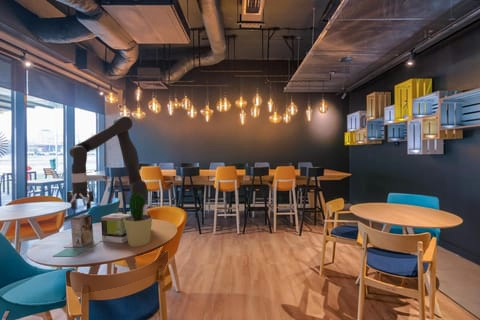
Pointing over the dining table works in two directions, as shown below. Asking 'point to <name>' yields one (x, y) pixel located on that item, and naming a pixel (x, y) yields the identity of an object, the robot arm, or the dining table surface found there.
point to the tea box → (114, 228)
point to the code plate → (84, 245)
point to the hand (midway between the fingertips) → (81, 209)
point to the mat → (70, 252)
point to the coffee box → (82, 230)
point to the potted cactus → (138, 222)
